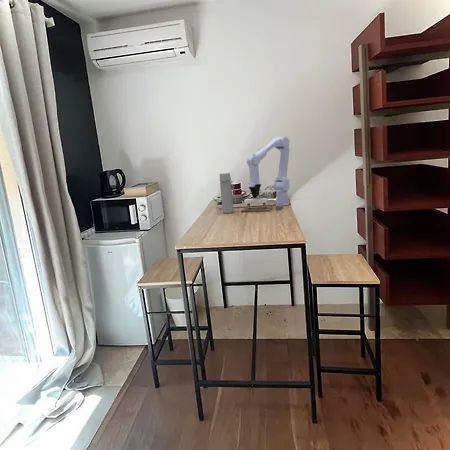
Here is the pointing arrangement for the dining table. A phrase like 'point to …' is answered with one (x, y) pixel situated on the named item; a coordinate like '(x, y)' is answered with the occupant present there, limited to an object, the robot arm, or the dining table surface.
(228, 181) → the water bottle
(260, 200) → the shelf board
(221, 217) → the dining table surface
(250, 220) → the dining table surface
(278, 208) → the block
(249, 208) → the peg stand
